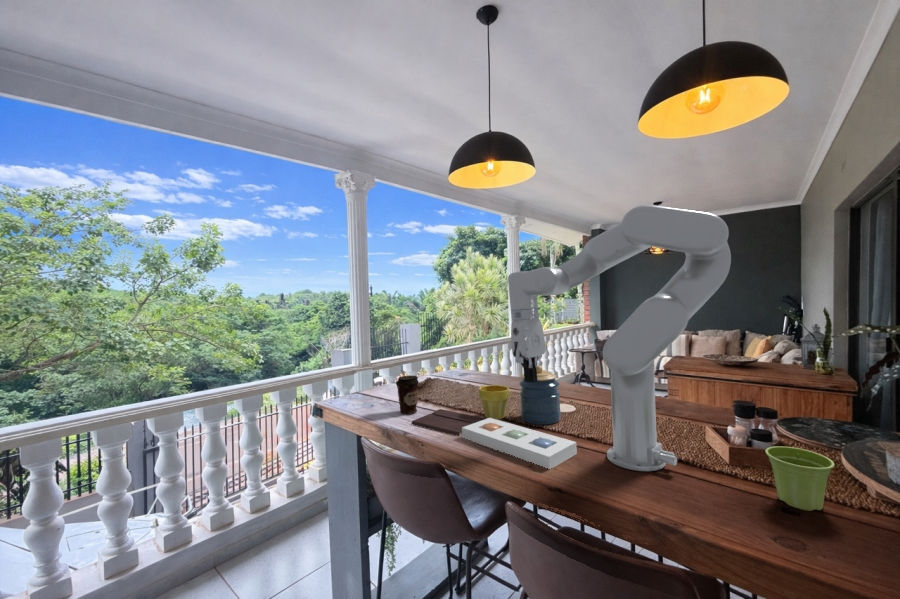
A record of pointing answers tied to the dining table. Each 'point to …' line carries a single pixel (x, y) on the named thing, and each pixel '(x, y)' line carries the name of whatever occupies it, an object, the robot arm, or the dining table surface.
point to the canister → (540, 399)
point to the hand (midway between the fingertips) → (531, 381)
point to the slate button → (542, 443)
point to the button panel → (521, 443)
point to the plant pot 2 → (800, 476)
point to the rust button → (491, 426)
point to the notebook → (447, 421)
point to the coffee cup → (407, 394)
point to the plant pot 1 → (494, 400)
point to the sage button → (515, 434)
